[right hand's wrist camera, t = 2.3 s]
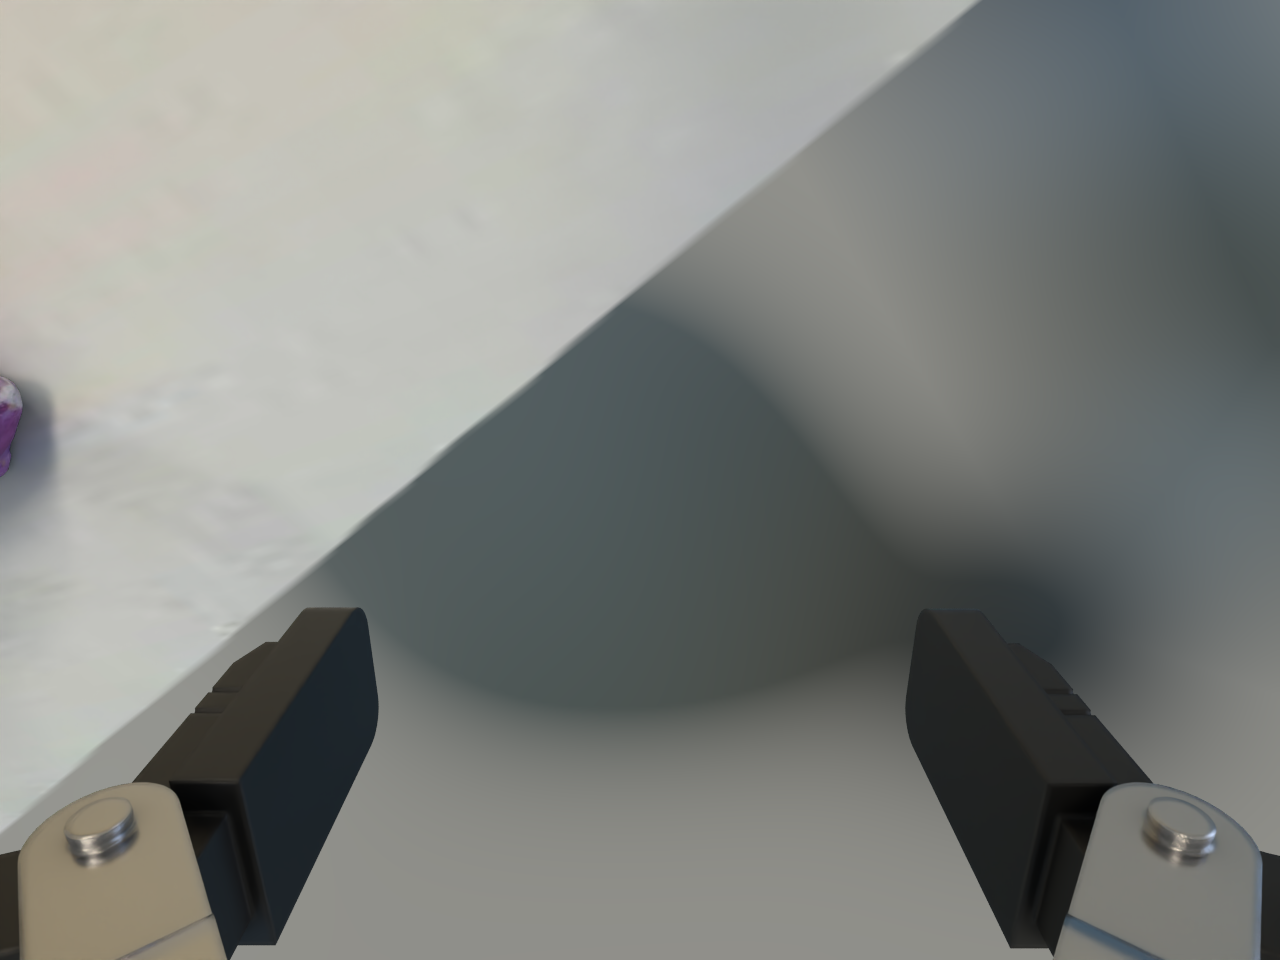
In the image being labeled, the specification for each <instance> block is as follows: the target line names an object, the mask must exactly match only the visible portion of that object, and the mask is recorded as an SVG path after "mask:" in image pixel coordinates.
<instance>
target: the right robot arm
mask: <svg viewBox="0 0 1280 960" xmlns="http://www.w3.org/2000/svg"><path fill="white" fill-rule="evenodd" d="M905 709H906V723H907V729H908V734H909V738H910V740H911V743H912V746H913V748H914V750H915V752H916V754H917V756H918V758H919V760H920V762H921V765H922V767H923V769H924V771H925V773H926V775H927V777H928V779H929V781H930V783H931V785H932V787H933V789H934V791H935V793H936V795H937V797H938V800H939V802H940V804H941V806H942V808H943V810H944V812H945V814H946V816H947V818H948V820H949V822H950V824H951V826H952V829H953V831H954V833H955V835H956V837H957V839H958V841H959V843H960V845H961V847H962V849H963V851H964V853H965V855H966V857H967V860H968V862H969V864H970V866H971V868H972V870H973V872H974V874H975V876H976V878H977V880H978V882H979V884H980V886H981V888H982V891H983V893H984V895H985V897H986V899H987V901H988V903H989V905H990V907H991V909H992V911H993V913H994V915H995V917H996V919H997V921H998V923H999V926H1000V928H1001V930H1002V932H1003V934H1004V936H1005V938H1006V940H1007V942H1008V944H1009V946H1010V948H1049V950H1050V951H1051V953H1052V955H1053V960H1280V856H1278V855H1273V854H1269V853H1265V852H1262V851H1259V849H1258V847H1257V845H1256V844H1255V842H1254V841H1253V839H1252V838H1251V836H1250V835H1249V834H1248V833H1247V832H1246V831H1245V830H1244V828H1242V827H1241V826H1240V825H1239V824H1238V823H1237V822H1236V821H1235V820H1233V819H1232V818H1231V817H1230V816H1228V815H1227V814H1225V813H1224V812H1223V811H1221V810H1220V809H1218V808H1216V807H1215V806H1213V805H1211V804H1210V803H1208V802H1206V801H1204V800H1202V799H1200V798H1198V797H1196V796H1193V795H1191V794H1188V793H1186V792H1184V791H1181V790H1177V789H1174V788H1171V787H1167V786H1163V785H1159V784H1153V783H1152V781H1151V780H1150V779H1149V778H1148V777H1147V775H1146V774H1145V773H1144V772H1143V771H1142V770H1141V769H1140V767H1139V766H1138V765H1137V764H1136V763H1135V761H1134V760H1133V759H1132V758H1131V757H1130V756H1129V754H1128V753H1127V752H1126V751H1125V750H1124V749H1123V747H1122V746H1121V745H1120V744H1119V743H1118V742H1117V740H1116V739H1115V738H1114V737H1113V736H1112V735H1111V733H1110V732H1109V731H1108V730H1107V729H1106V728H1105V726H1104V725H1103V724H1102V723H1101V722H1100V721H1099V719H1098V718H1097V717H1096V716H1095V715H1091V713H1090V709H1089V708H1088V707H1087V705H1086V704H1085V703H1084V702H1083V701H1082V699H1081V698H1080V697H1079V696H1078V695H1077V694H1073V689H1072V688H1071V687H1070V685H1069V684H1068V683H1067V682H1066V681H1065V680H1064V679H1063V677H1062V676H1061V675H1060V674H1059V673H1058V671H1057V670H1056V669H1055V668H1054V667H1053V666H1052V665H1051V664H1050V663H1048V662H1047V661H1045V660H1044V659H1042V658H1041V657H1039V656H1038V655H1036V654H1034V653H1033V652H1031V651H1030V650H1028V649H1027V648H1025V647H1024V646H1022V645H1020V644H1018V643H1006V641H1005V640H1004V639H1003V638H1002V636H1001V635H1000V634H999V633H998V631H997V630H996V629H995V628H994V626H993V625H992V624H991V623H990V621H989V620H988V619H987V618H986V616H985V615H984V614H983V613H982V612H981V611H980V610H978V609H924V610H922V611H921V613H920V615H919V617H918V620H917V625H916V632H915V639H914V646H913V653H912V660H911V667H910V674H909V681H908V688H907V695H906V707H905ZM377 721H378V694H377V686H376V679H375V672H374V665H373V658H372V651H371V644H370V636H369V629H368V623H367V618H366V615H365V613H364V611H363V610H362V609H361V608H358V607H356V608H353V607H352V608H349V607H348V608H347V607H345V608H343V607H337V608H336V607H335V608H334V607H329V608H328V607H327V608H326V607H317V608H316V607H312V608H311V607H310V608H306V609H304V610H303V611H302V612H301V613H300V615H299V616H298V617H297V618H296V620H295V621H294V622H293V623H292V625H291V626H290V627H289V629H288V630H287V631H286V632H285V634H284V635H283V636H282V637H281V639H280V640H279V641H278V642H265V643H264V644H262V645H261V646H259V647H257V648H256V649H254V650H253V651H251V652H250V653H248V654H247V655H245V656H243V657H242V658H240V659H239V660H237V661H236V662H234V663H233V664H232V665H231V666H230V668H229V669H228V670H227V671H226V672H225V673H224V675H223V676H222V677H221V678H220V679H219V681H218V682H217V683H216V684H215V685H214V686H213V690H212V693H208V694H207V695H206V696H205V697H204V698H203V699H202V701H201V702H200V703H199V704H198V705H197V706H196V708H195V713H191V714H190V715H189V716H188V717H187V718H186V719H185V721H184V722H183V723H182V724H181V726H180V727H179V728H178V729H177V730H176V731H175V733H174V734H173V735H172V736H171V737H170V738H169V740H168V741H167V742H166V743H165V744H164V746H163V747H162V748H161V749H160V750H159V751H158V753H157V754H156V755H155V756H154V757H153V758H152V760H151V761H150V762H149V763H148V764H147V766H146V767H145V768H144V769H143V770H142V771H141V773H140V774H139V775H138V776H137V777H136V779H135V780H134V781H133V782H132V783H128V784H121V785H117V786H113V787H109V788H106V789H103V790H99V791H96V792H94V793H92V794H89V795H87V796H84V797H82V798H80V799H78V800H76V801H74V802H72V803H70V804H69V805H67V806H65V807H64V808H62V809H60V810H59V811H57V812H56V813H55V814H53V815H52V816H50V817H49V818H48V819H46V820H45V821H44V822H43V823H42V824H41V825H40V826H39V827H38V828H36V830H35V831H34V832H33V833H32V834H31V835H30V836H29V838H28V839H27V841H26V842H25V844H24V845H23V847H22V849H21V850H19V851H14V852H10V853H6V854H1V855H0V960H230V959H231V957H232V955H233V953H234V951H235V949H236V947H237V945H276V943H277V941H278V939H279V937H280V935H281V933H282V931H283V928H284V926H285V924H286V922H287V920H288V918H289V916H290V914H291V912H292V910H293V907H294V905H295V903H296V901H297V899H298V897H299V895H300V893H301V891H302V889H303V887H304V885H305V882H306V880H307V878H308V876H309V874H310V872H311V870H312V868H313V866H314V864H315V862H316V859H317V857H318V855H319V853H320V851H321V849H322V847H323V845H324V843H325V841H326V839H327V836H328V834H329V832H330V830H331V828H332V826H333V824H334V822H335V820H336V818H337V816H338V813H339V811H340V809H341V807H342V805H343V803H344V801H345V799H346V797H347V795H348V793H349V790H350V788H351V786H352V784H353V782H354V780H355V778H356V776H357V774H358V772H359V770H360V767H361V765H362V763H363V761H364V759H365V757H366V755H367V753H368V751H369V749H370V747H371V744H372V742H373V739H374V736H375V732H376V727H377Z"/></svg>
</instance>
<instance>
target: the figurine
mask: <svg viewBox="0 0 1280 960" xmlns="http://www.w3.org/2000/svg"><path fill="white" fill-rule="evenodd" d="M22 408H23V403H22V399H21V395H20V392H19V390H18V388H17V387H16V385H15V384H14V382H12V381H10V380H9V379H7V378H5V377H0V477H1V476H2V475H4V474H5V473H6V471H7V470H8V469H9V464H10V459H11V454H10V450H9V449H10V445H11V442H12V440H13V438H14V435H15V432H16V429H17V426H18V423H19V420H20V417H21V414H22Z"/></svg>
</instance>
